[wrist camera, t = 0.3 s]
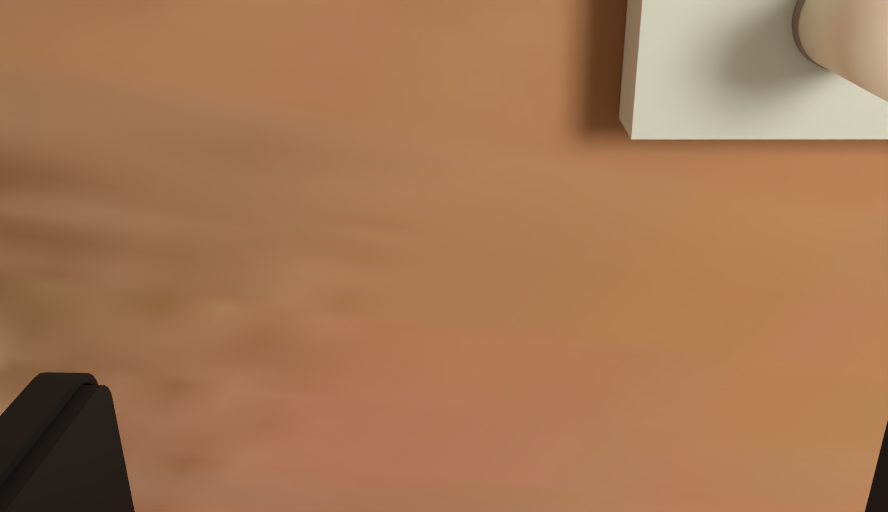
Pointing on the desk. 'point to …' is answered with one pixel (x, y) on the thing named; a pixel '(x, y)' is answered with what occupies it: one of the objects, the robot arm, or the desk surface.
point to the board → (755, 69)
